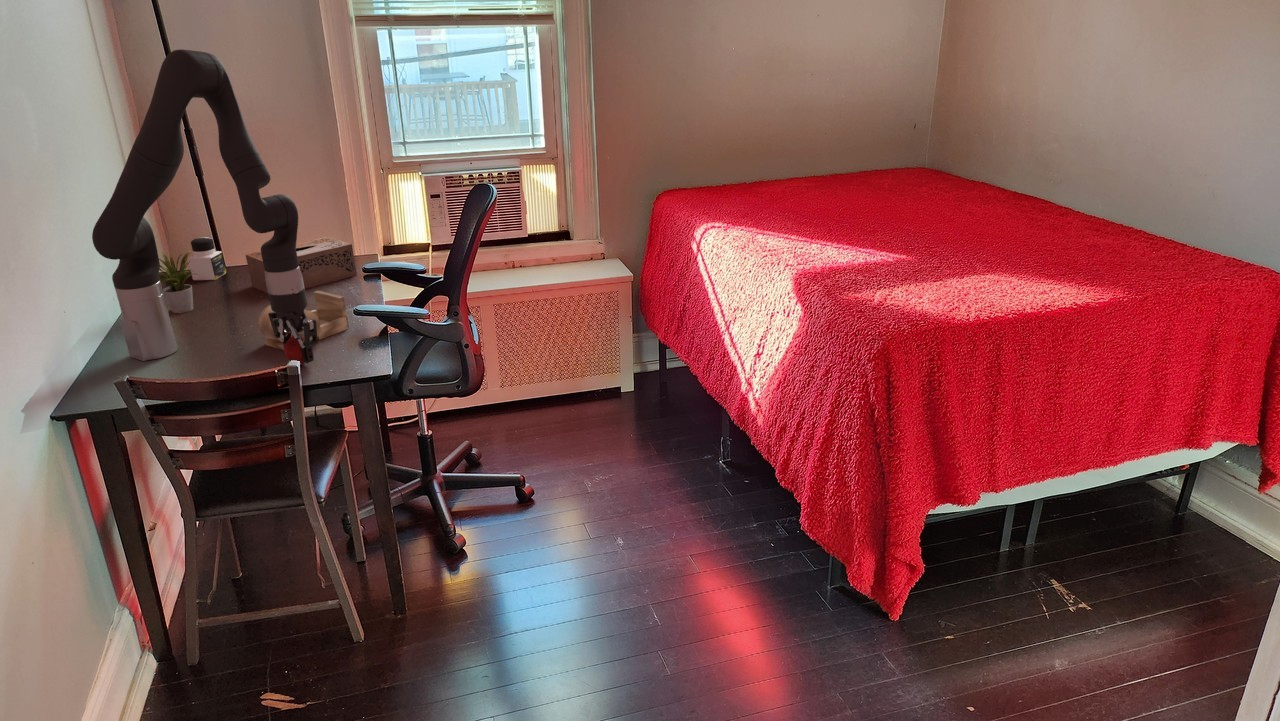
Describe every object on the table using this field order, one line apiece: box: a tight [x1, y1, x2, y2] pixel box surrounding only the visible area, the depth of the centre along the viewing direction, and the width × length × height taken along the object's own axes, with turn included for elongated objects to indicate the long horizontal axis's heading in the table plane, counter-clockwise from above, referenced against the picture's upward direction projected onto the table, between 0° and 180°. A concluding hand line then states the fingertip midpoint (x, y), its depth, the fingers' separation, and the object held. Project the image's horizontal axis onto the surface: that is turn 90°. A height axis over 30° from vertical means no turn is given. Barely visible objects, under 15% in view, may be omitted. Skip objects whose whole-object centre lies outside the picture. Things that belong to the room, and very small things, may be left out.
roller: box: [258, 304, 320, 351], centre depth 201 cm, size 11×9×9 cm
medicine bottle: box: [187, 236, 227, 281], centre depth 254 cm, size 7×7×12 cm
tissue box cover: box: [245, 236, 358, 294], centre depth 248 cm, size 26×14×10 cm, turn 137°
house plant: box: [159, 249, 197, 314], centre depth 226 cm, size 14×14×16 cm
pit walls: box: [310, 290, 350, 341], centre depth 210 cm, size 10×12×8 cm
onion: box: [283, 335, 306, 366], centre depth 188 cm, size 6×6×8 cm
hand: (299, 358), depth 189 cm, fingers closed on onion, 5 cm apart
